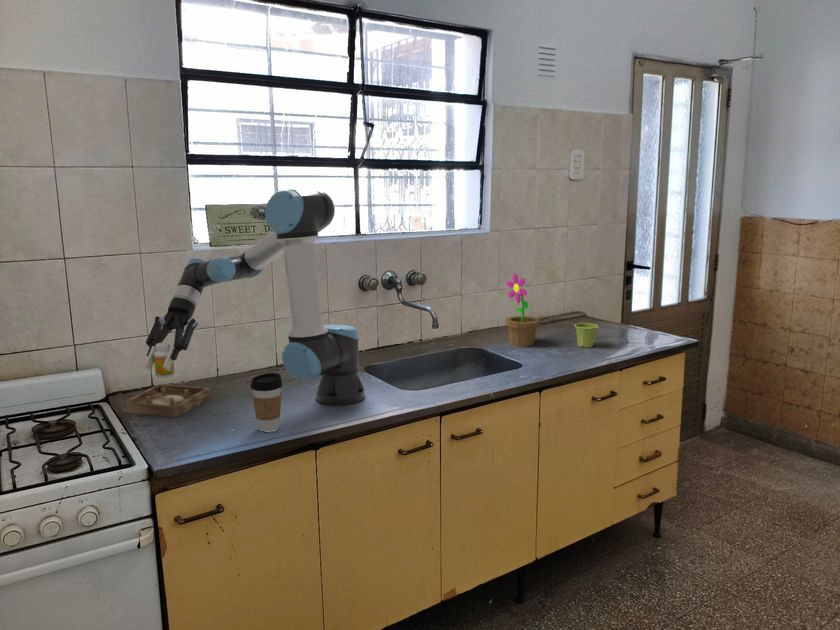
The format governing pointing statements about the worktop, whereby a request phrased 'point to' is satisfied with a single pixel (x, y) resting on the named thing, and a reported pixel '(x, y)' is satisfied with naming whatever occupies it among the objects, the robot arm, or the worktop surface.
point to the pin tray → (166, 400)
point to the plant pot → (585, 334)
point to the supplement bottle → (162, 360)
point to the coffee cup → (267, 400)
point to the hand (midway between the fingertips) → (156, 368)
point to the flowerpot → (521, 318)
